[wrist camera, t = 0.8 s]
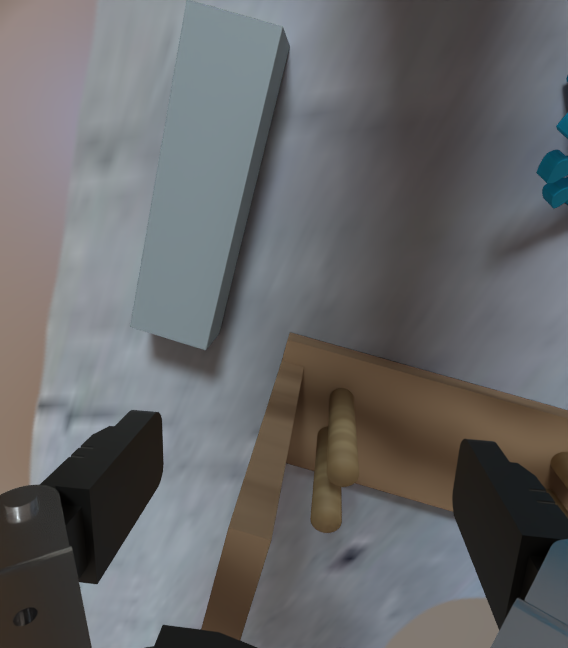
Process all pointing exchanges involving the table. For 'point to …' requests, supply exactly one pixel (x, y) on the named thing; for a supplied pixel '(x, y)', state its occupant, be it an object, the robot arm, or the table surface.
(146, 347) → the table surface
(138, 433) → the robot arm
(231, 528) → the stand
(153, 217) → the grey rectangular block
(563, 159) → the gear
